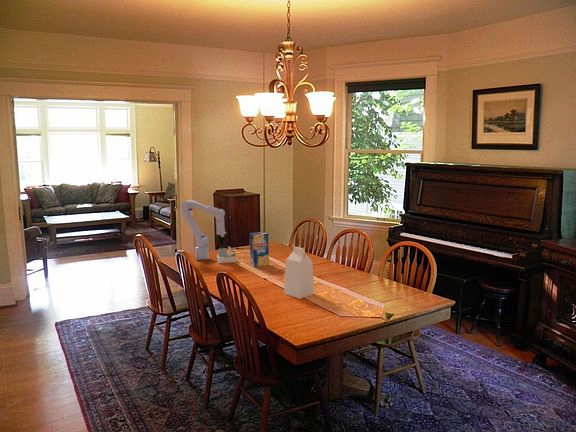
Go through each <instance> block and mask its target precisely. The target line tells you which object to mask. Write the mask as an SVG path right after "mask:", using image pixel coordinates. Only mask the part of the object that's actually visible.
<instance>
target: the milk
mask: <svg viewBox="0 0 576 432" xmlns="http://www.w3.org/2000/svg"><path fill="white" fill-rule="evenodd" d="M313 265H314V264H313V261H312V259H311V258H310V257H309V256H308V255H307V254H306V252H305V248H304V247H299V246H294V247H293V249H292V252H291V253H290V255H288V257H287V258H286V260H285V264H284V283H283V284H284V285H283V286H284V288H283V289H284V290H283V291H284V292H283V294H284V295H286V296H290V297H293V298H297V299H303V298H306V297H308V296H312V295H314V294H315V285H314V283H315V282H314V281H315V280H314V270H313V269H314V266H313Z"/></svg>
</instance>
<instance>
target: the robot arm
mask: <svg viewBox="0 0 576 432" xmlns="http://www.w3.org/2000/svg"><path fill="white" fill-rule="evenodd" d="M194 208H195V209H196V208H197V209H200V210H202V211H204V212H206V214H208V215H211V216H213V217H215V227H216V237H217V240H218V243H219V246H223V245H224V243H225V239H226V234H227V232H226V229H225V215H226V210H224V209H223V208H220V209H219V207H215V206H213V205H208V206H207V205H205V204H203V203H201V202H198V201H196V200H193V199H188V200H184V201H182V202H181V205H180V209H181V213H182V217H183V218H184V220H185V221H186V223H187V226H189V228H190V230H191V232H192V233H193V235H194V240H195V244H196V245H197V246H195V247H194V258H195V260H196V261H199V260H200V261H201V260H210V257H209V243H210V238H209V237H208V236H207V235H206V234H205V233H204V232H202V230H201V228H200V227H199V225H198V223H197V222H196V220H195V219H194V217H193V215H192V211H193V209H194Z"/></svg>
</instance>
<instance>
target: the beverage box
mask: <svg viewBox="0 0 576 432" xmlns="http://www.w3.org/2000/svg"><path fill="white" fill-rule="evenodd" d="M269 254H270V253H269V233H268V232H266V231H260V232H259V231H257V232H250V233H249V265H250V266H251V267H253V268H257V267H263V266H269V264H270V263H269V262H270V261H269V260H270V259H269V258H270V257H269Z"/></svg>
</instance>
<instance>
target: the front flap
mask: <svg viewBox="0 0 576 432" xmlns="http://www.w3.org/2000/svg"><path fill="white" fill-rule="evenodd" d="M217 250H218V252H217V253H218V255H219V257H223V256H227V254H228V251H227V250H228V249H227V247H225V248H224V247H222V248H218V249H217Z"/></svg>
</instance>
